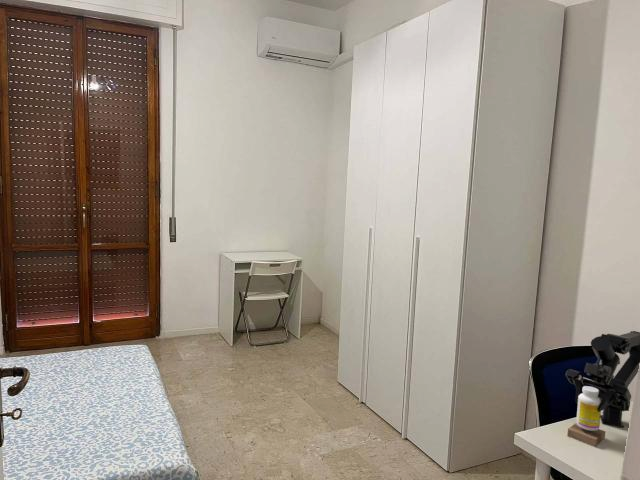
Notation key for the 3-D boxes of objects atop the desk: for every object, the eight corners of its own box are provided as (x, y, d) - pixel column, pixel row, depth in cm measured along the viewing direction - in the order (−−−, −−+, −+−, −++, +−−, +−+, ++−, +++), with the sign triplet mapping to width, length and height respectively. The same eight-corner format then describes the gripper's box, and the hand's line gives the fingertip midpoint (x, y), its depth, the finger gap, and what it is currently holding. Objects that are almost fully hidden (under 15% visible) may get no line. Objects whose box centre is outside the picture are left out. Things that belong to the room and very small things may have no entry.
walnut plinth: (577, 428, 158) (578, 421, 158) (604, 438, 152) (605, 431, 152) (567, 436, 153) (567, 428, 153) (595, 447, 147) (595, 439, 146)
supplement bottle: (602, 432, 148) (606, 394, 147) (580, 430, 150) (583, 392, 148) (594, 422, 155) (597, 385, 153) (573, 420, 156) (576, 383, 155)
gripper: (570, 346, 160) (551, 384, 154) (630, 362, 145) (612, 405, 139) (579, 363, 165) (561, 400, 160) (638, 381, 150) (621, 423, 145)
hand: (587, 406), depth 151 cm, fingers closed on supplement bottle, 6 cm apart
